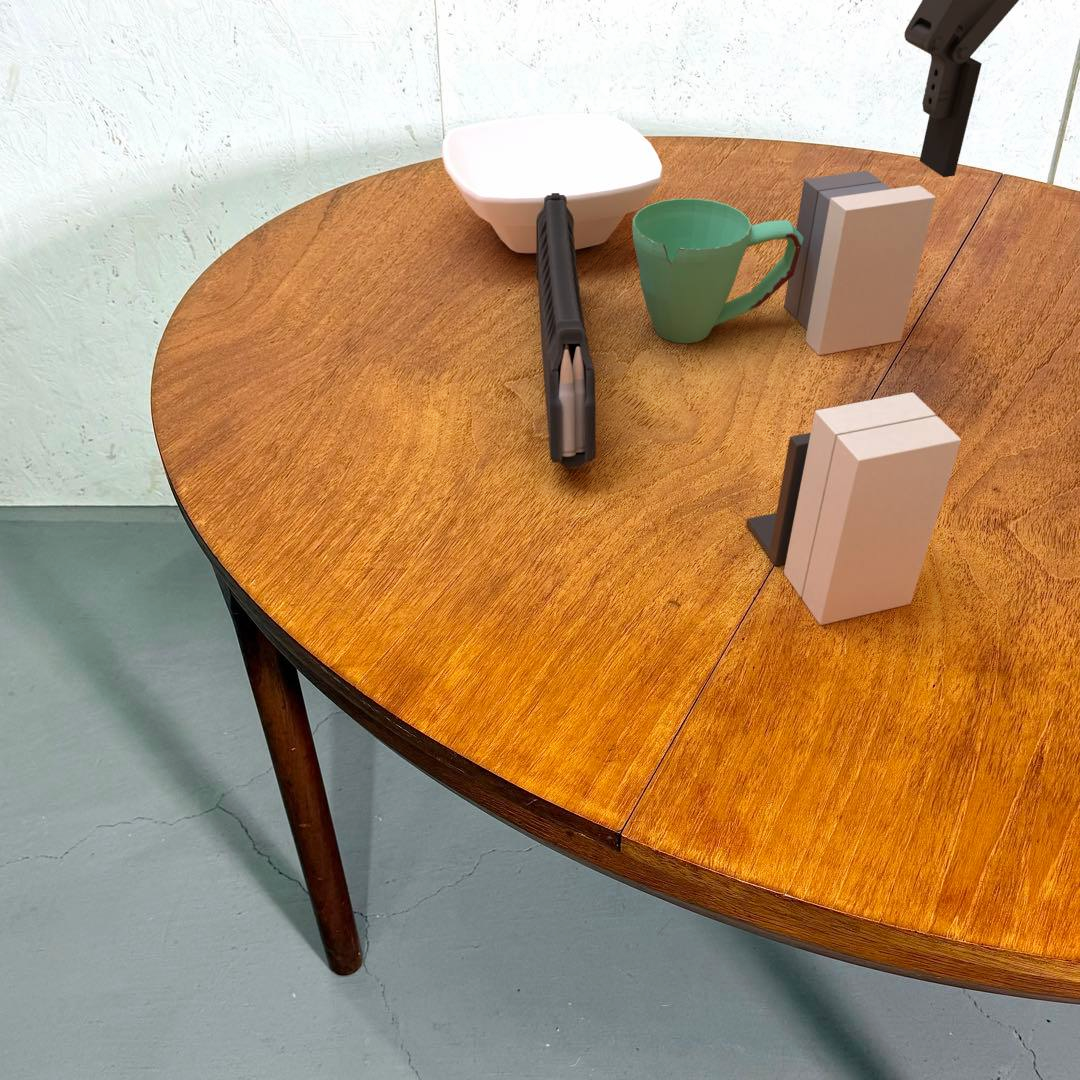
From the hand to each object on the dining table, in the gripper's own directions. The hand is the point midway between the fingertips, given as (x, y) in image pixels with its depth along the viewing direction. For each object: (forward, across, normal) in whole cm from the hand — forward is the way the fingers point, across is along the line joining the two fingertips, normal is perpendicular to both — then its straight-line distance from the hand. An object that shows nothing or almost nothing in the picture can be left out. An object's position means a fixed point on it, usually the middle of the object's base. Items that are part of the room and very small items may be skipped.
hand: (1032, 154), depth 67 cm
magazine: (+22, +26, -17) cm, 38 cm away
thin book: (+22, 0, -16) cm, 27 cm away
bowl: (+22, +19, -43) cm, 52 cm away
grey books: (+22, 0, -20) cm, 30 cm away
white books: (+22, +16, +9) cm, 29 cm away
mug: (+22, +11, -22) cm, 33 cm away
